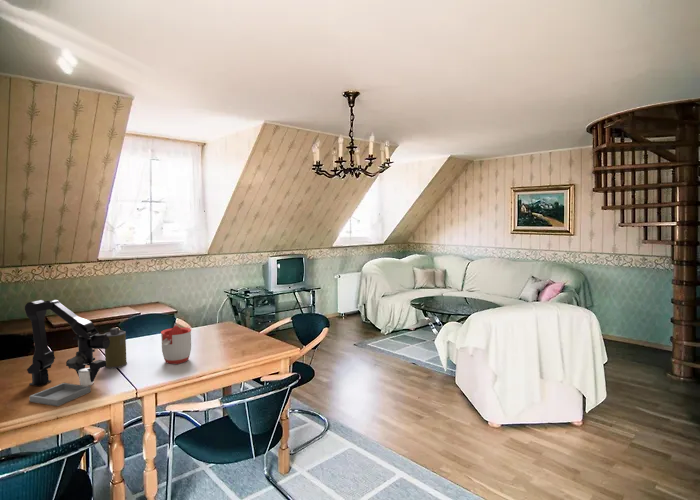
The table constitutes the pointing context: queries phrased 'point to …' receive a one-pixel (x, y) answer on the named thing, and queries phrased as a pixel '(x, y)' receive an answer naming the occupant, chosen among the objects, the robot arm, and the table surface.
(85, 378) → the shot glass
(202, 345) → the table surface
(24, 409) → the table surface
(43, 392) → the tray
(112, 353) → the canister
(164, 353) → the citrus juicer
